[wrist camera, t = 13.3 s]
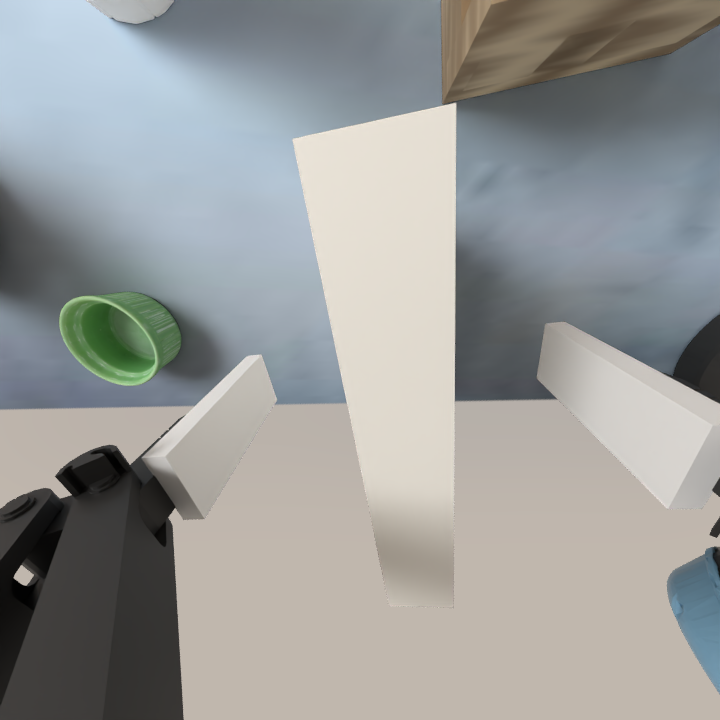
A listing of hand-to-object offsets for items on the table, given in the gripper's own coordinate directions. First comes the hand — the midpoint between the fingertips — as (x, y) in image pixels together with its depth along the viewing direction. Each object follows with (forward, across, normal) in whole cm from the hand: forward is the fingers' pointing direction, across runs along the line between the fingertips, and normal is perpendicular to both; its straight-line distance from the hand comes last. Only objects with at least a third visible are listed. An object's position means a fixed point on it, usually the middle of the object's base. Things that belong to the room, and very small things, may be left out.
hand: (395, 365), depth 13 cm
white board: (+14, 0, 0) cm, 14 cm away
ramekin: (+14, +26, 0) cm, 30 cm away
